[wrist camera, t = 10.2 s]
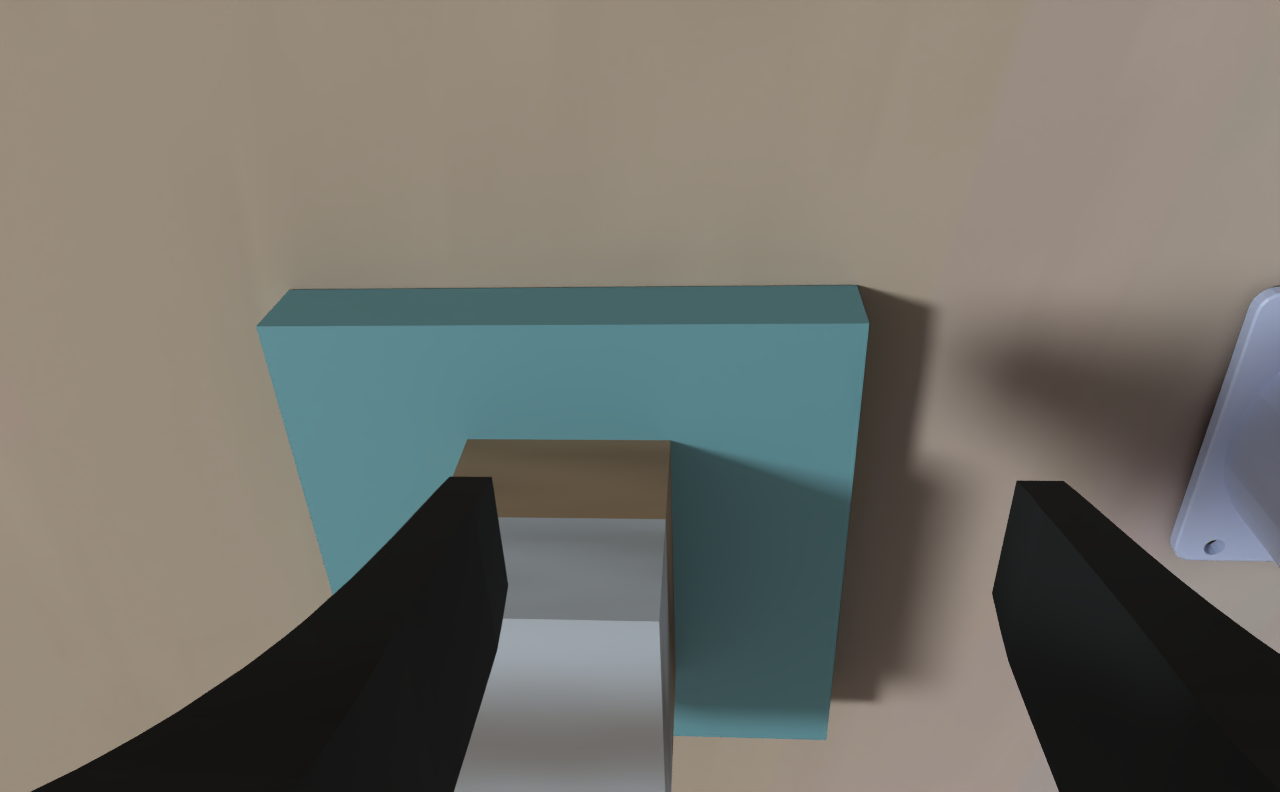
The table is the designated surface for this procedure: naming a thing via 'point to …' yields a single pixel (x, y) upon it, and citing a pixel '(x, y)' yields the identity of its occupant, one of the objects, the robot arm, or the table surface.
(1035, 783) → the table surface
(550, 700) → the block
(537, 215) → the table surface
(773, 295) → the teal stand
